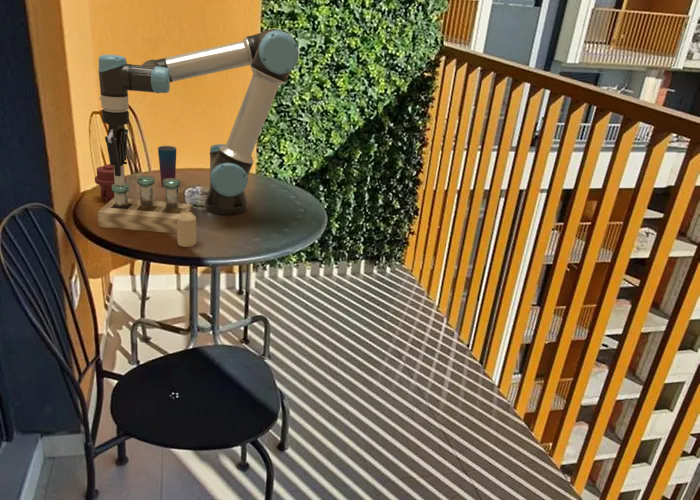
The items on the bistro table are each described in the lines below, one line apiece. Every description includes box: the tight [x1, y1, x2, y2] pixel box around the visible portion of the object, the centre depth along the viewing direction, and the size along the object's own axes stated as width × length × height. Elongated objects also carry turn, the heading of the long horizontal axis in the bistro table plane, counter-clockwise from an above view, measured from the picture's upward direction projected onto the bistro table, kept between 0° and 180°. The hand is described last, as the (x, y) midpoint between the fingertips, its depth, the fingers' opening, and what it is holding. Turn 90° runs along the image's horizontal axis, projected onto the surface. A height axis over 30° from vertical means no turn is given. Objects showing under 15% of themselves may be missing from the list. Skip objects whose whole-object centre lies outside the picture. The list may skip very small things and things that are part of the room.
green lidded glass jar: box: [136, 175, 156, 206], centre depth 172 cm, size 5×5×8 cm
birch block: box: [97, 197, 194, 234], centre depth 175 cm, size 26×14×5 cm, turn 92°
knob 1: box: [112, 183, 130, 209], centre depth 173 cm, size 5×5×8 cm
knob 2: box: [162, 177, 181, 208], centre depth 173 cm, size 5×5×8 cm
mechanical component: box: [94, 163, 127, 203], centre depth 189 cm, size 12×10×10 cm
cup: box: [157, 145, 177, 188], centre depth 209 cm, size 7×7×15 cm
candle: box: [176, 212, 197, 248], centre depth 163 cm, size 6×6×10 cm
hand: (119, 184), depth 171 cm, fingers closed
